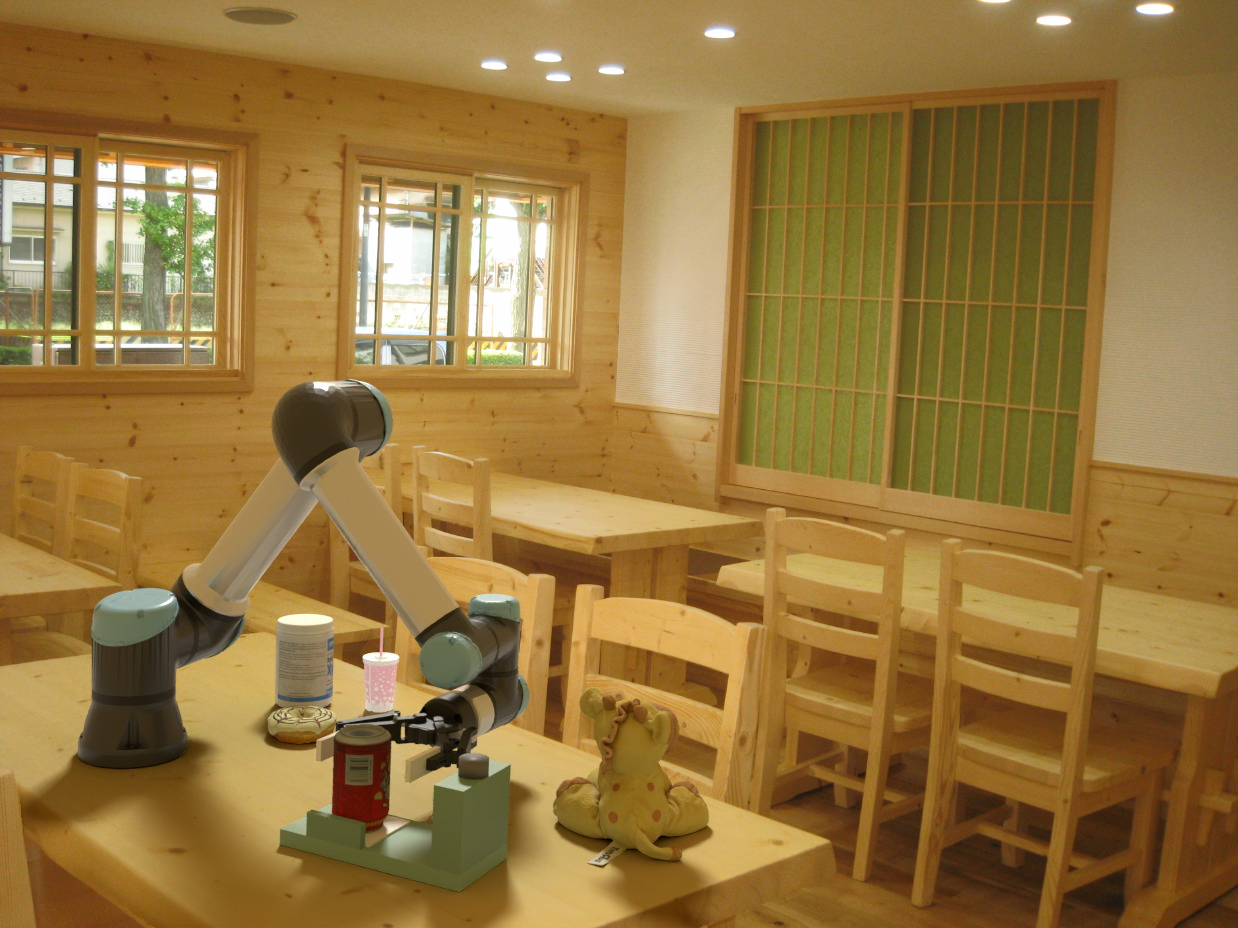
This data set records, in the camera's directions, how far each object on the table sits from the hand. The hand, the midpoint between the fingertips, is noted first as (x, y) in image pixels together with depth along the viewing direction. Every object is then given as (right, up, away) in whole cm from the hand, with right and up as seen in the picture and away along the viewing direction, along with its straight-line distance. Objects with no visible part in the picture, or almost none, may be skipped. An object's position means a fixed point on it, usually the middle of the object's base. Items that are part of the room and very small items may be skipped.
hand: (362, 760), depth 156 cm
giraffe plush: (+33, -12, +10) cm, 37 cm away
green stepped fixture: (+4, -11, -1) cm, 12 cm away
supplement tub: (-22, -4, +58) cm, 62 cm away
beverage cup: (-9, -5, +57) cm, 58 cm away
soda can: (0, -8, +1) cm, 9 cm away
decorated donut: (-18, -6, +42) cm, 46 cm away
